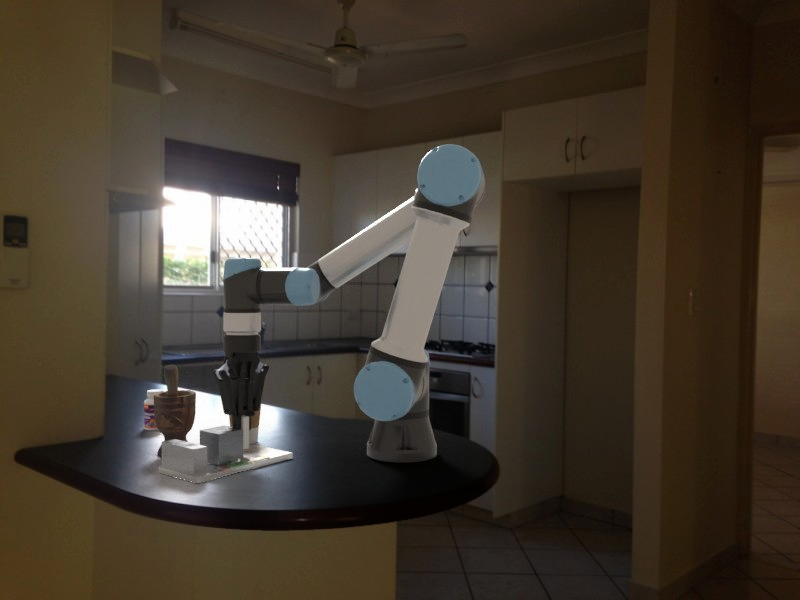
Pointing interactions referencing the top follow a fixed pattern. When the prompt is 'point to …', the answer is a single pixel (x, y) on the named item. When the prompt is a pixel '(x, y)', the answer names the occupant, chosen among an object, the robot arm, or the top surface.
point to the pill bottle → (150, 410)
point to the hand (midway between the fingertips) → (241, 447)
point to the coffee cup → (252, 426)
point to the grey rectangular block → (222, 444)
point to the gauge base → (194, 467)
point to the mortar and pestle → (174, 408)
